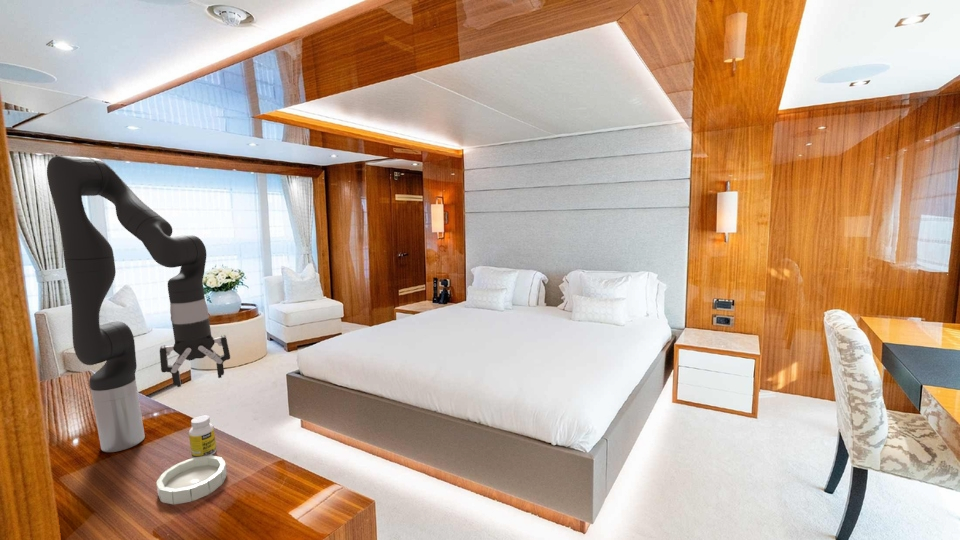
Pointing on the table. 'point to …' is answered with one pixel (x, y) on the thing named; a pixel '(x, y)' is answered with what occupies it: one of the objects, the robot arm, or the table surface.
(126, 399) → the robot arm
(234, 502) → the table surface
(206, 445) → the supplement bottle
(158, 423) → the table surface
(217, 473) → the sage bowl
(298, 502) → the table surface
